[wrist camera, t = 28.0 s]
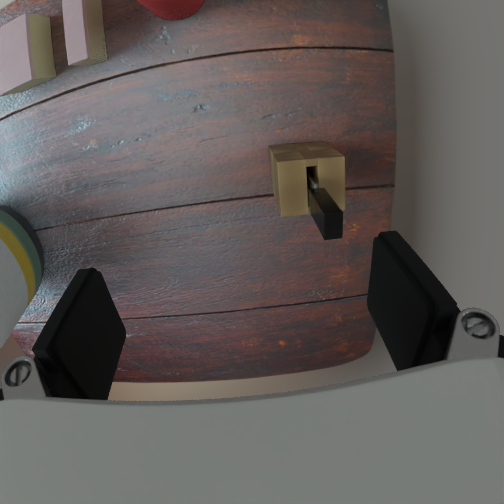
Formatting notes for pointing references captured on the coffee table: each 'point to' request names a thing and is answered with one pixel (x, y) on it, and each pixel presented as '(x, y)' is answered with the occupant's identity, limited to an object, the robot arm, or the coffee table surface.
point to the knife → (324, 210)
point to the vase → (17, 268)
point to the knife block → (305, 174)
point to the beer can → (172, 8)
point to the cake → (25, 53)
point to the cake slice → (84, 32)
